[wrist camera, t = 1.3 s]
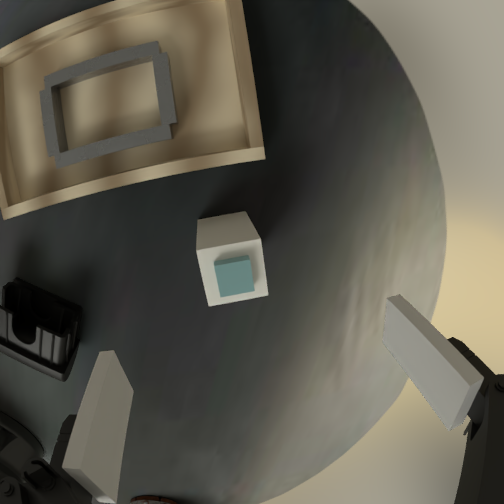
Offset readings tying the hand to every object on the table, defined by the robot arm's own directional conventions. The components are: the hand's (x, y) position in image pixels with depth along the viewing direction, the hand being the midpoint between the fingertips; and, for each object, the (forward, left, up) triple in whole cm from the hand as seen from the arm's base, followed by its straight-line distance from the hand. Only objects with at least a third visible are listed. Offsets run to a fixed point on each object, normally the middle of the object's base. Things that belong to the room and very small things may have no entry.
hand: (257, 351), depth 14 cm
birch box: (-8, +15, -17) cm, 24 cm away
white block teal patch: (0, 0, -17) cm, 17 cm away
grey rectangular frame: (-8, +14, -16) cm, 23 cm away
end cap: (-22, -5, -17) cm, 29 cm away
